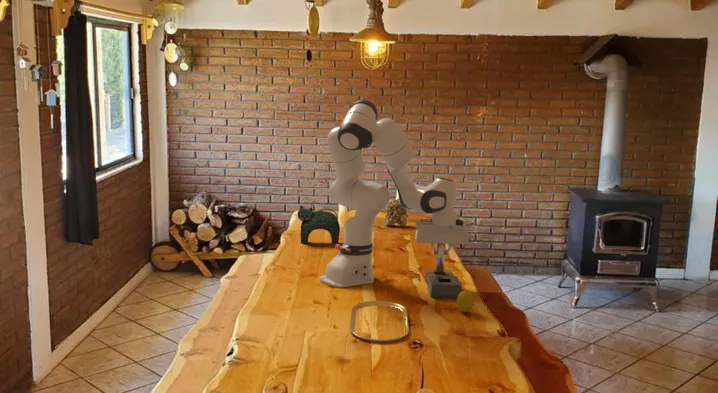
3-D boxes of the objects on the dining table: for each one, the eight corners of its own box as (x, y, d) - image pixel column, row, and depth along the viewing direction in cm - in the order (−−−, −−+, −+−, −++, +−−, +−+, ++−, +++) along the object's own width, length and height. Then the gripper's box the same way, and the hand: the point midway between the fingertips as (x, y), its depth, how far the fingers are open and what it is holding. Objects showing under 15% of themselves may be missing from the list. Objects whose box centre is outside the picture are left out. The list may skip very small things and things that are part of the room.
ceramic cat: (297, 243, 320) (297, 201, 316) (297, 240, 326) (298, 199, 322) (339, 244, 320) (340, 203, 317) (339, 241, 327) (340, 200, 323)
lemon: (470, 309, 239) (472, 287, 238) (473, 315, 234) (475, 292, 232) (455, 309, 239) (456, 287, 238) (457, 315, 234) (459, 292, 232)
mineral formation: (382, 224, 365) (383, 196, 363) (407, 224, 366) (408, 197, 364) (384, 227, 358) (385, 199, 355) (409, 228, 358) (410, 200, 356)
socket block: (454, 287, 263) (454, 277, 262) (428, 287, 263) (428, 276, 262) (450, 279, 273) (450, 269, 272) (425, 279, 272) (425, 269, 272)
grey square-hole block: (461, 298, 251) (461, 285, 250) (431, 297, 250) (431, 284, 249) (456, 288, 261) (456, 276, 260) (427, 288, 261) (428, 275, 260)
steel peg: (439, 272, 265) (441, 244, 263) (433, 270, 267) (435, 243, 265) (445, 271, 267) (447, 243, 265) (439, 269, 269) (440, 242, 267)
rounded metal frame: (348, 343, 208) (348, 338, 208) (352, 304, 242) (352, 299, 242) (409, 345, 207) (410, 341, 207) (405, 306, 242) (406, 302, 242)
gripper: (417, 220, 260) (414, 255, 262) (470, 222, 261) (467, 257, 263) (415, 216, 266) (412, 251, 268) (467, 218, 267) (464, 253, 269)
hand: (440, 254), depth 266 cm, fingers closed on steel peg, 3 cm apart
